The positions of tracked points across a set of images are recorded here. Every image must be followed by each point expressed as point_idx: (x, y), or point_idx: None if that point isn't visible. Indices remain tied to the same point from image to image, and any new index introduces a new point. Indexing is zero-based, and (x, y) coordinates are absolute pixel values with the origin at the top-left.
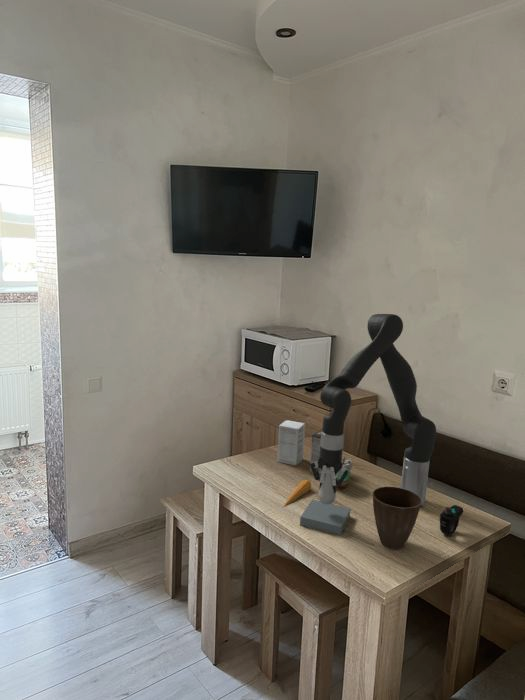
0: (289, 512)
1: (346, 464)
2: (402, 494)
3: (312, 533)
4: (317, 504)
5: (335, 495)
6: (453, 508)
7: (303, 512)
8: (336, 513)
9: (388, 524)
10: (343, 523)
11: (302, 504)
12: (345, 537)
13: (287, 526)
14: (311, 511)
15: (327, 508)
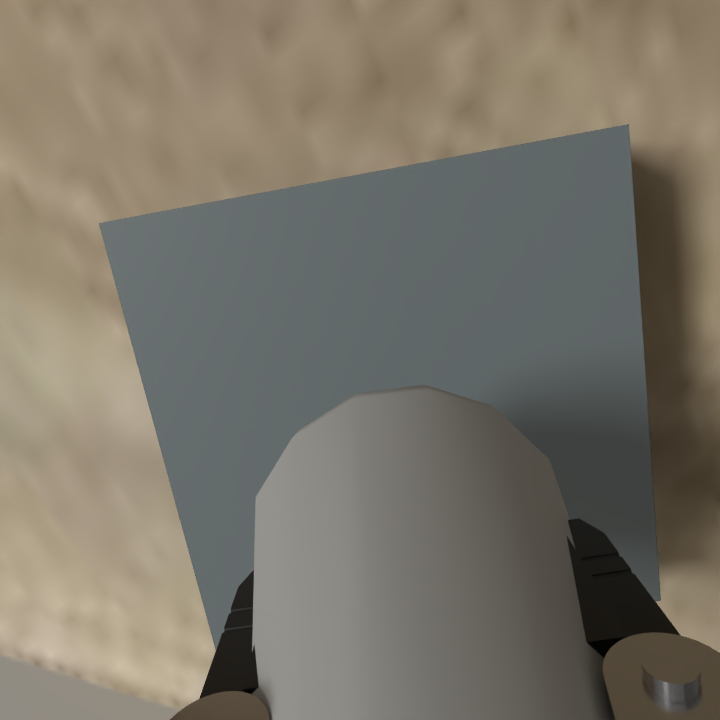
0: (31, 463)
1: None
2: None
3: None
4: (222, 304)
5: (562, 499)
6: None
7: (194, 570)
8: (515, 373)
9: None
10: (649, 505)
11: (26, 222)
12: (669, 553)
13: (167, 677)
14: (252, 501)
15: (372, 325)
